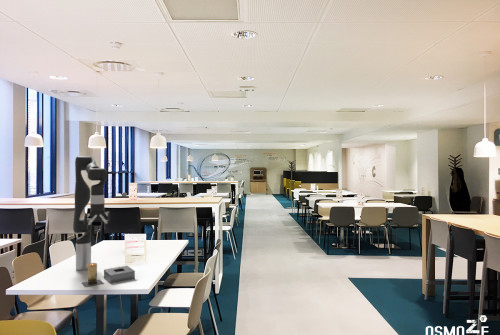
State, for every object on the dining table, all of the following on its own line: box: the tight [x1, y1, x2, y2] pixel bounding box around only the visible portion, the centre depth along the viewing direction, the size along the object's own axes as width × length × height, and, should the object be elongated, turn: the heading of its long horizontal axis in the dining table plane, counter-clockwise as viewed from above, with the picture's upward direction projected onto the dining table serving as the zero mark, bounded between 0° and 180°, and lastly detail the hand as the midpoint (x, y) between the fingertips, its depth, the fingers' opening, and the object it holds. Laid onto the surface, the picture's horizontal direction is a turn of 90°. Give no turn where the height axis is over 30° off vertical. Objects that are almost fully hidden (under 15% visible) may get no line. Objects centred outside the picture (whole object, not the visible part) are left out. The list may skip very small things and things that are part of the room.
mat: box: [81, 278, 105, 288], centre depth 204 cm, size 10×10×1 cm
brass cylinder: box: [87, 262, 98, 285], centre depth 204 cm, size 5×5×11 cm
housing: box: [103, 265, 136, 284], centre depth 214 cm, size 14×14×5 cm
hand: (97, 230), depth 208 cm, fingers open, 8 cm apart
